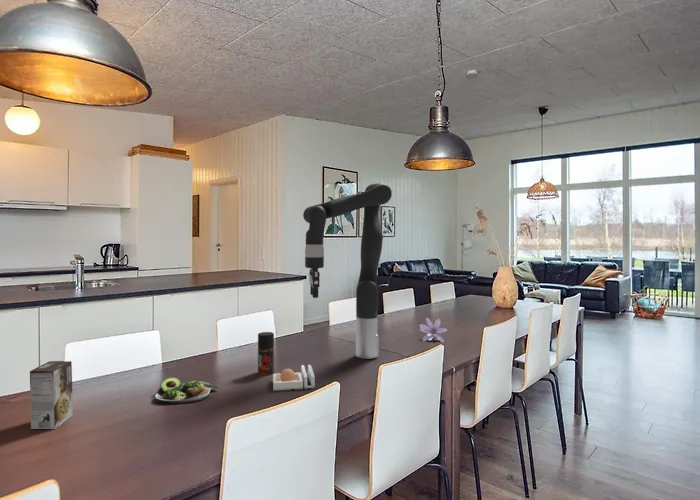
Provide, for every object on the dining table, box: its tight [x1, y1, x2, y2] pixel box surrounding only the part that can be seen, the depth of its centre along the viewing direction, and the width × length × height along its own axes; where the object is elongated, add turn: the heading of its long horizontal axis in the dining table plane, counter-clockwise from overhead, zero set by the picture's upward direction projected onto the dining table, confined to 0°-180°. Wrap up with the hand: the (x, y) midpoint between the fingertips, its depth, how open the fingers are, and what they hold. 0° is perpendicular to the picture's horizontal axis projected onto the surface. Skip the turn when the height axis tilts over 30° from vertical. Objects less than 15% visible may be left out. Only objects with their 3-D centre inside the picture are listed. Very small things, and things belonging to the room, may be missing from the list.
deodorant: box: [257, 331, 275, 376], centre depth 165 cm, size 6×6×15 cm
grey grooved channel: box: [300, 364, 316, 390], centre depth 155 cm, size 4×14×4 cm, turn 11°
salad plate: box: [153, 376, 220, 405], centre depth 143 cm, size 19×18×5 cm
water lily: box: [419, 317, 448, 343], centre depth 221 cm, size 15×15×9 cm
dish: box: [272, 371, 304, 392], centre depth 152 cm, size 10×10×3 cm
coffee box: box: [29, 360, 74, 430], centre depth 120 cm, size 9×6×16 cm
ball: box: [280, 368, 295, 382], centre depth 152 cm, size 5×5×5 cm
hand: (314, 296), depth 174 cm, fingers open, 8 cm apart
